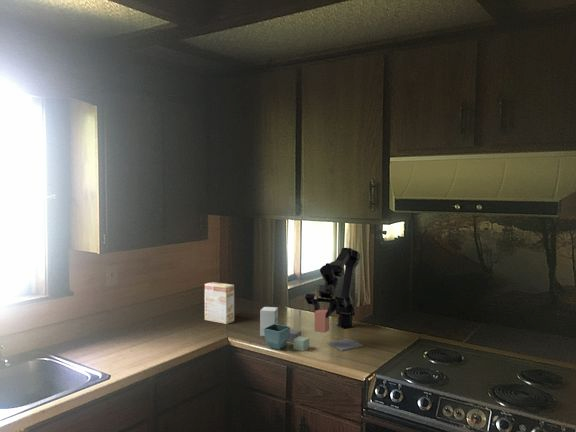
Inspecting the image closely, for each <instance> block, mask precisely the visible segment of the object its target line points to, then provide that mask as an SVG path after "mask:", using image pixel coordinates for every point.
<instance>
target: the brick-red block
mask: <svg viewBox="0 0 576 432" xmlns="http://www.w3.org/2000/svg"><path fill="white" fill-rule="evenodd" d="M327 311H328V309H325V308H324V309H322V308H319V309H318V310H316V311H315V312H314V332H316V333H324V334H325V333H327V332H328V331H329V330H330V316H329V317H328V318H326V314H327Z"/></svg>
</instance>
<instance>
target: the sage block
mask: <svg viewBox="0 0 576 432" xmlns="http://www.w3.org/2000/svg"><path fill="white" fill-rule="evenodd" d="M309 340H310V338H309V337H307V336H306V337H305V336H301V337H300V336H298V337H297V338H295V339H293V343H292V344H293V346H292V347H293V348H292V349H293V350H296V351H300V350H301V352H304V351H306V350H307V349H309V346H310V345H309V344H310V341H309Z"/></svg>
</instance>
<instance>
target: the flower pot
mask: <svg viewBox="0 0 576 432" xmlns="http://www.w3.org/2000/svg"><path fill="white" fill-rule="evenodd" d="M290 330H291V326H287V325H282V324H279V323H278V324H272V325H270V326H268V327H266V328H264V334H265V336H264V339H265V342H266V344H267V346H268V348H270V349H276V350H280V349H282V348H284V347H285V346H286V345H287V343H288V342H287V341H288V339H289V333H290Z"/></svg>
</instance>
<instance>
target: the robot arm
mask: <svg viewBox="0 0 576 432" xmlns="http://www.w3.org/2000/svg"><path fill="white" fill-rule="evenodd" d="M360 260H361V253H360V252H359V251H357V250H355V249H353V248H351V247H342V248H341V250H340V253H339V254H338V256H337V257H336V259H335V260H334V261H331V262H326V263H325V264H324V265H322V266H321V267H320V268H319V272H320V275H321V277H322V279H323V281H324V284H323V285H322V284H317V291H316V292H317V293H318V295H316V294H315V293H311V292H307V293H306V294H305V296H304V299H305V300H306V301H305V302H307V304H308V305H313V309H314V313H315V311H316V310H318V309H321V308H320V307H321V305H320V303H325V304H326V303H327V304H328V303H329V306H328V309H327V310H328V311H327V314H326V318H328V317H329V318H330V316H331V315H332V314H333V313H334V312H335V314H336V315H338V319H337V320H338V321H337V324H336V326H338V327H339V328H342V329H350V328H354V327H355V325H354V324H353V317H354V316H356V309H355V307H354V300H353V299H352V289H353V283H354V282H353V281H354V275H355V269H356V267H357V266H358V265H359V264H360V263H359V262H360ZM343 275H344V277H343ZM341 277H343V282H342V288H341V289H342V290H341V294H340V295H339V296H338V295H337V296H335V295H336V289H337V287H338V285H339V279H338V278H341Z"/></svg>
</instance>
